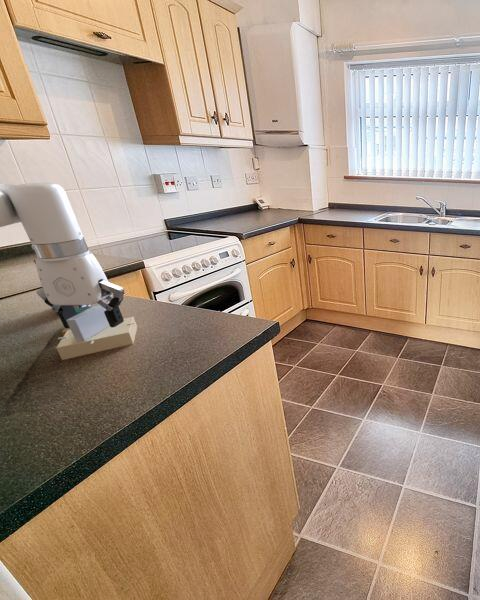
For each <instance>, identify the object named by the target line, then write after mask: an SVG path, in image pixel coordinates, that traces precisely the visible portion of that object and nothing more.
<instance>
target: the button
mask: <svg viewBox="0 0 480 600" xmlns="http://www.w3.org/2000/svg"><path fill="white" fill-rule="evenodd" d="M91 307H93V306H92V305H91V306H86V307H81V308H78V309H75V311H76V313H77V314H79V313H81V312H83V311H85V310H87V309H89V308H91Z"/></svg>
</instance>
